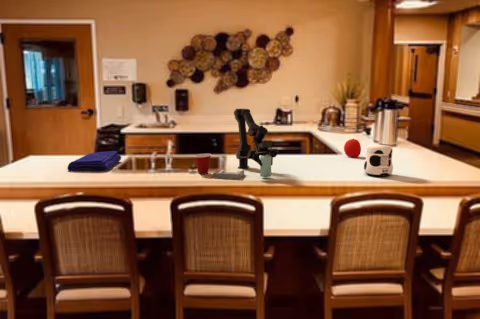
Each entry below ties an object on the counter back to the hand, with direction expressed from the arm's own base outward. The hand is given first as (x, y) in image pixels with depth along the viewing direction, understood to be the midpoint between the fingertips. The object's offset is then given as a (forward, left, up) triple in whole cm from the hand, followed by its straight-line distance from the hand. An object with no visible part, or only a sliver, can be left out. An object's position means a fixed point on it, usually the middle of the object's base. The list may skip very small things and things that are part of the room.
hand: (266, 165), depth 286 cm
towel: (-10, -117, -9) cm, 118 cm away
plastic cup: (-5, -41, -8) cm, 42 cm away
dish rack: (-1, -23, -8) cm, 25 cm away
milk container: (-27, +66, -8) cm, 72 cm away
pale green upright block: (-1, -1, -7) cm, 7 cm away
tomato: (-89, +51, -8) cm, 103 cm away
